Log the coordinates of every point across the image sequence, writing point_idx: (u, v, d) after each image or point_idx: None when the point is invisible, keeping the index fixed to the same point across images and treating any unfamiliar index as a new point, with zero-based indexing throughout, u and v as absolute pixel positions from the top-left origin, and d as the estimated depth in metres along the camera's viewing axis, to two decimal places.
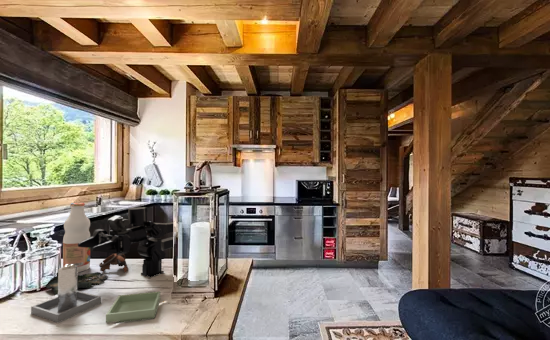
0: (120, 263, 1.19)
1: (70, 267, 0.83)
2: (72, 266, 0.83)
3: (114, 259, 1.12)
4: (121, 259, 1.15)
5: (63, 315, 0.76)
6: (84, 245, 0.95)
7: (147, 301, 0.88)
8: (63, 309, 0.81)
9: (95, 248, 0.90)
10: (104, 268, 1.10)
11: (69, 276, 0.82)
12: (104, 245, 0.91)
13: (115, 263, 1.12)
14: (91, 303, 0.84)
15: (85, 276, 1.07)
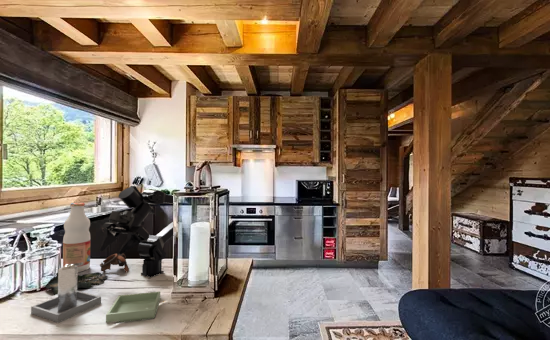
0: (120, 263, 1.19)
1: (70, 267, 0.83)
2: (72, 266, 0.83)
3: (115, 259, 1.12)
4: (122, 259, 1.15)
5: (63, 315, 0.76)
6: (105, 246, 0.99)
7: (147, 301, 0.88)
8: (63, 309, 0.81)
9: (120, 251, 0.94)
10: (105, 268, 1.10)
11: (69, 276, 0.82)
12: (126, 245, 0.95)
13: (116, 263, 1.12)
14: (91, 303, 0.84)
15: (85, 276, 1.07)
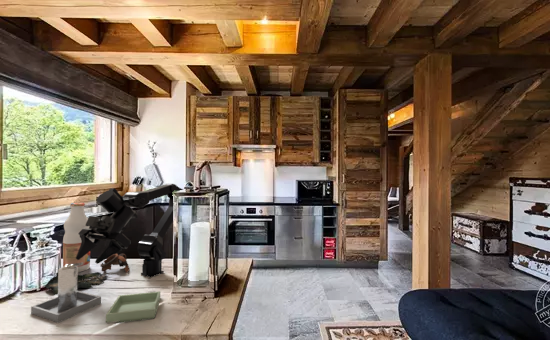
0: (121, 263, 1.19)
1: (70, 267, 0.83)
2: (72, 266, 0.83)
3: (115, 259, 1.12)
4: (122, 259, 1.14)
5: (63, 315, 0.76)
6: (82, 255, 0.91)
7: (147, 301, 0.88)
8: (63, 309, 0.81)
9: (97, 260, 0.87)
10: (105, 268, 1.10)
11: (69, 276, 0.82)
12: (104, 253, 0.88)
13: (116, 263, 1.12)
14: (91, 303, 0.84)
15: (85, 276, 1.07)
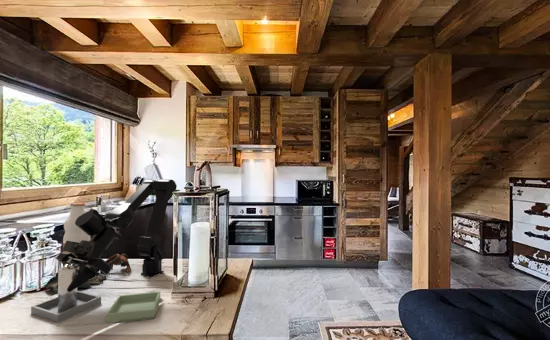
0: (123, 263, 1.19)
1: (70, 267, 0.83)
2: (72, 266, 0.83)
3: (117, 259, 1.12)
4: (124, 259, 1.14)
5: (63, 315, 0.76)
6: None
7: (147, 301, 0.88)
8: (63, 309, 0.81)
9: (69, 288, 0.81)
10: None
11: (69, 276, 0.82)
12: (77, 280, 0.82)
13: (118, 263, 1.11)
14: (91, 303, 0.84)
15: None
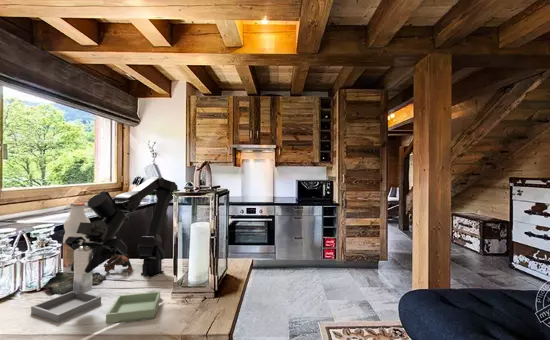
0: (124, 264, 1.18)
1: (86, 248, 0.82)
2: (88, 247, 0.82)
3: (119, 259, 1.12)
4: (125, 259, 1.14)
5: (63, 315, 0.76)
6: None
7: (147, 301, 0.88)
8: (81, 291, 0.80)
9: (87, 269, 0.80)
10: (109, 269, 1.10)
11: (86, 257, 0.81)
12: (94, 261, 0.82)
13: (120, 263, 1.11)
14: (91, 303, 0.84)
15: None
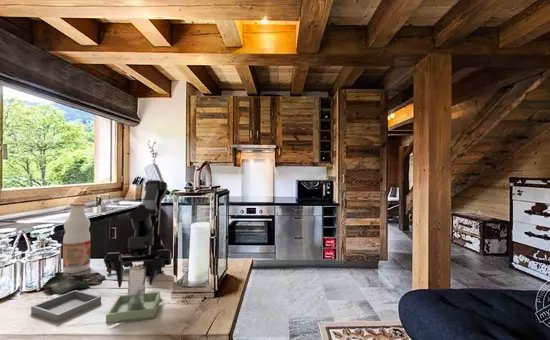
0: (126, 264, 1.18)
1: (141, 267, 0.83)
2: (142, 266, 0.84)
3: None
4: None
5: (63, 315, 0.76)
6: (121, 281, 0.82)
7: (147, 301, 0.88)
8: (139, 308, 0.82)
9: (150, 281, 0.83)
10: (111, 269, 1.10)
11: (144, 275, 0.83)
12: (154, 272, 0.85)
13: (122, 264, 1.11)
14: (91, 303, 0.84)
15: (84, 276, 1.07)
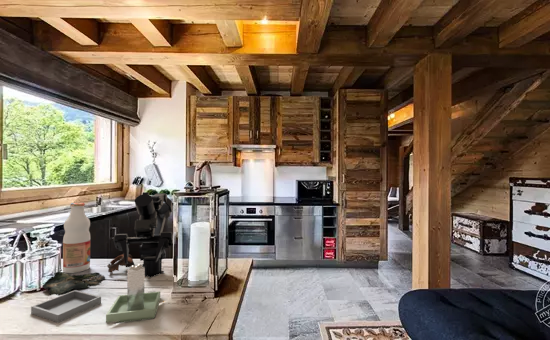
0: (127, 264, 1.18)
1: (140, 267, 0.83)
2: (141, 266, 0.84)
3: (123, 260, 1.12)
4: (129, 260, 1.14)
5: (63, 315, 0.76)
6: (127, 259, 0.93)
7: (147, 301, 0.88)
8: (139, 308, 0.82)
9: (156, 259, 0.94)
10: (113, 269, 1.09)
11: (143, 275, 0.83)
12: (160, 252, 0.96)
13: (124, 264, 1.11)
14: (91, 303, 0.84)
15: (84, 276, 1.07)
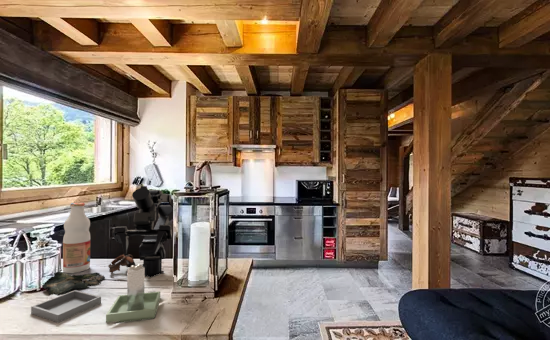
0: (128, 264, 1.18)
1: (140, 267, 0.83)
2: (141, 266, 0.84)
3: (124, 260, 1.11)
4: (130, 260, 1.14)
5: (63, 315, 0.76)
6: (126, 251, 0.94)
7: (147, 301, 0.88)
8: (139, 308, 0.82)
9: (155, 251, 0.95)
10: (114, 269, 1.09)
11: (143, 275, 0.83)
12: (158, 244, 0.97)
13: (125, 264, 1.11)
14: (91, 303, 0.84)
15: (83, 276, 1.07)
